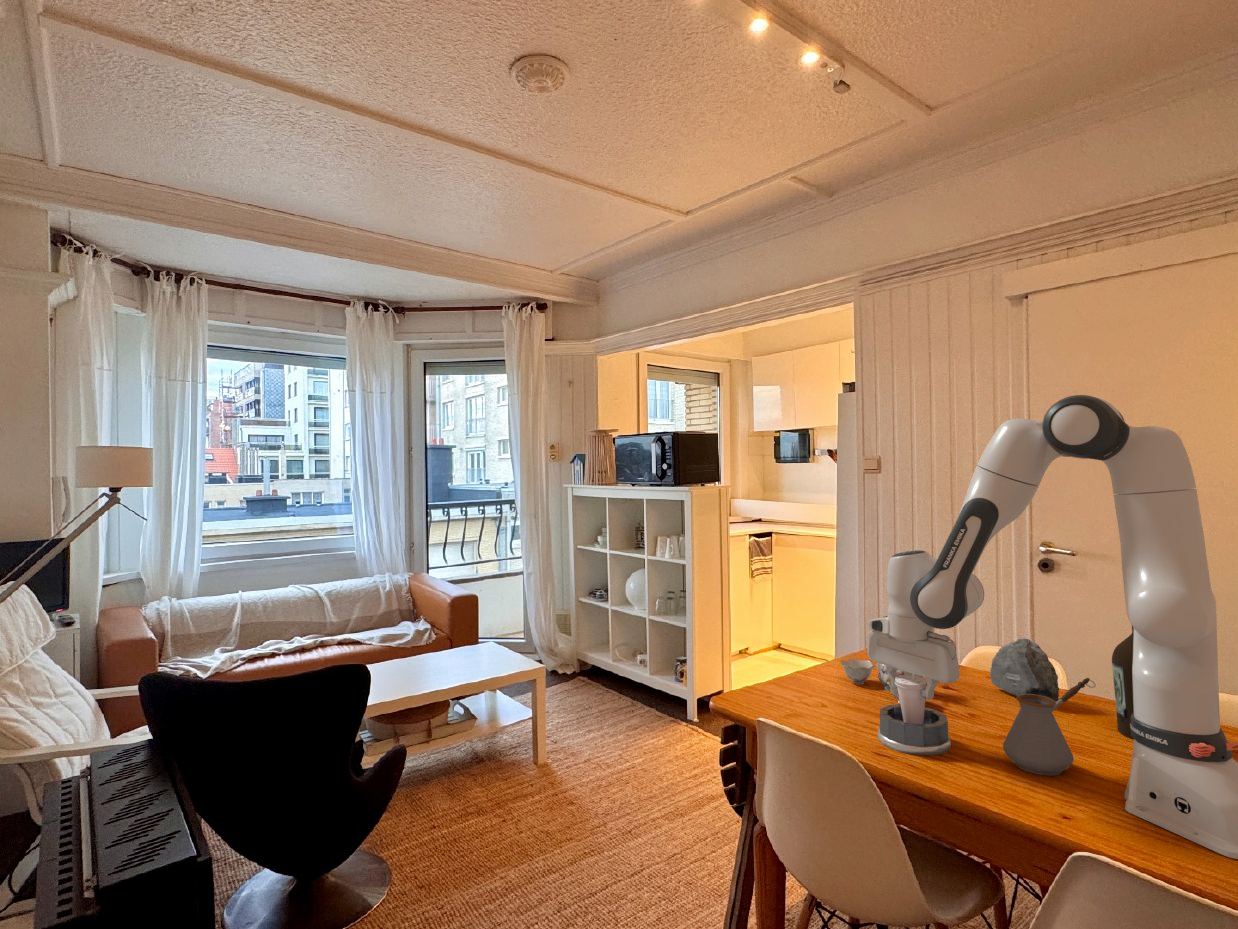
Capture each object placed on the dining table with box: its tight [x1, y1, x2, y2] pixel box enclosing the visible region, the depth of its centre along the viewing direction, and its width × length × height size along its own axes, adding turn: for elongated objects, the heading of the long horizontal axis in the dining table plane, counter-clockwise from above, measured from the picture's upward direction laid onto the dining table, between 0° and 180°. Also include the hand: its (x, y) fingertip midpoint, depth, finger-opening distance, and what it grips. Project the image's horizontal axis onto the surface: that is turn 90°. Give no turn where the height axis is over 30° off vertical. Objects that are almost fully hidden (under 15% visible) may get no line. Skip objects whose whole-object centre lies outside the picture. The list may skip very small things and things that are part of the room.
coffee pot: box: [1002, 677, 1096, 776], centre depth 128 cm, size 21×12×15 cm, turn 111°
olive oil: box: [1111, 625, 1134, 740], centre depth 140 cm, size 11×11×25 cm
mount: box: [877, 703, 952, 757], centre depth 139 cm, size 14×14×6 cm
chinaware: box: [840, 658, 927, 704], centre depth 171 cm, size 28×17×17 cm, turn 25°
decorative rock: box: [989, 638, 1060, 702], centre depth 163 cm, size 16×7×15 cm, turn 14°
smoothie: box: [895, 673, 929, 724], centre depth 139 cm, size 6×6×14 cm
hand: (911, 692), depth 139 cm, fingers closed on smoothie, 6 cm apart
